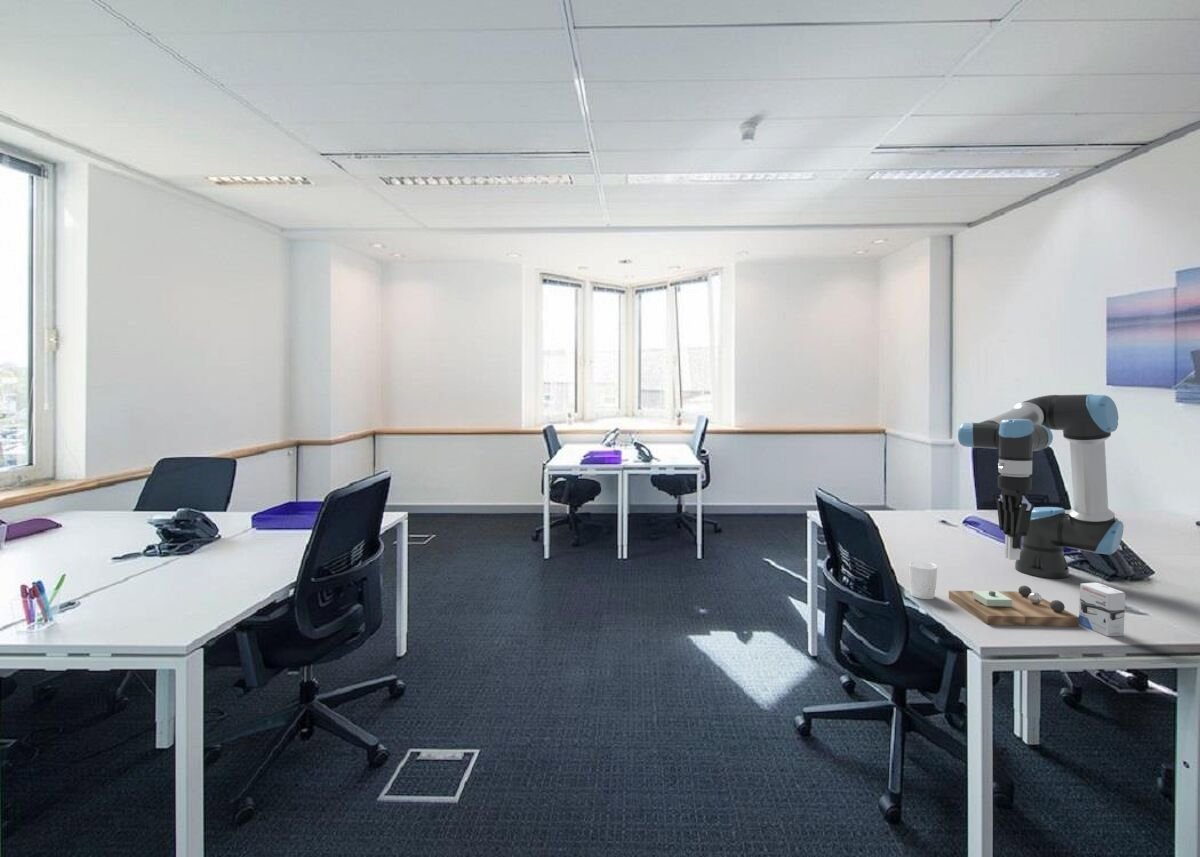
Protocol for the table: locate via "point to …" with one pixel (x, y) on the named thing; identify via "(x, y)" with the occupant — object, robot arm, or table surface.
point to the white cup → (922, 579)
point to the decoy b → (1057, 606)
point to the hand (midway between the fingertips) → (1012, 558)
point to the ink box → (1102, 609)
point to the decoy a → (1024, 590)
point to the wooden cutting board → (1014, 611)
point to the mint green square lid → (992, 598)
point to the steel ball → (1035, 598)
